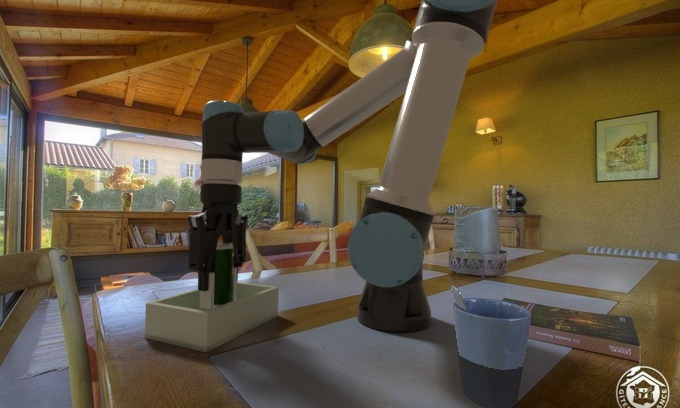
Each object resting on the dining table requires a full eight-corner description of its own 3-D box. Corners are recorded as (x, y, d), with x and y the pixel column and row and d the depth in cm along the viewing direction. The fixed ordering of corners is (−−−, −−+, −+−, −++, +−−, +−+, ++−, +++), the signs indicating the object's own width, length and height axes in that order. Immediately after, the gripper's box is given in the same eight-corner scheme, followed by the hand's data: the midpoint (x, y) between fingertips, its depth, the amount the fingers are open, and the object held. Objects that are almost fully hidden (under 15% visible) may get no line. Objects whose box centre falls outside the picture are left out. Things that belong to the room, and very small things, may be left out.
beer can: (210, 310, 60) (211, 244, 60) (198, 304, 63) (200, 242, 64) (237, 305, 63) (239, 243, 63) (225, 299, 67) (226, 240, 67)
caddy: (278, 315, 70) (278, 287, 70) (206, 352, 51) (207, 314, 51) (226, 307, 75) (227, 280, 75) (144, 337, 57) (145, 303, 57)
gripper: (237, 187, 74) (235, 290, 73) (166, 179, 57) (162, 314, 56) (265, 186, 71) (263, 294, 70) (199, 178, 54) (195, 320, 53)
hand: (218, 303), depth 63 cm, fingers closed on beer can, 5 cm apart
